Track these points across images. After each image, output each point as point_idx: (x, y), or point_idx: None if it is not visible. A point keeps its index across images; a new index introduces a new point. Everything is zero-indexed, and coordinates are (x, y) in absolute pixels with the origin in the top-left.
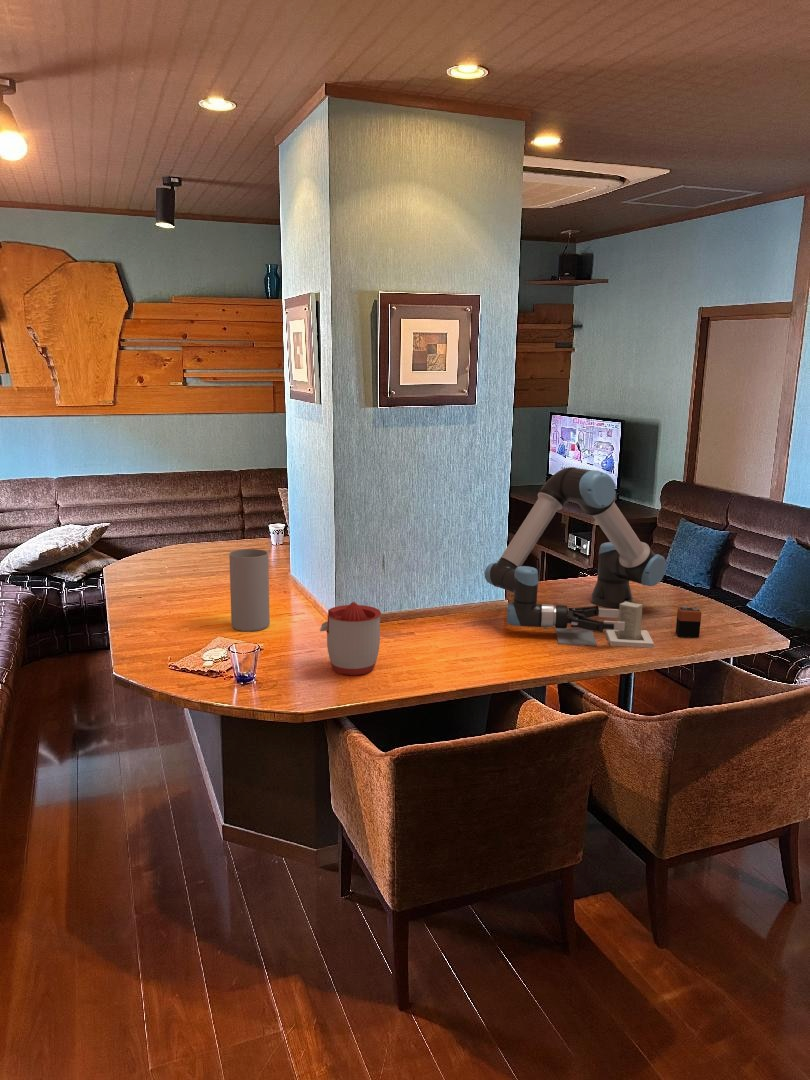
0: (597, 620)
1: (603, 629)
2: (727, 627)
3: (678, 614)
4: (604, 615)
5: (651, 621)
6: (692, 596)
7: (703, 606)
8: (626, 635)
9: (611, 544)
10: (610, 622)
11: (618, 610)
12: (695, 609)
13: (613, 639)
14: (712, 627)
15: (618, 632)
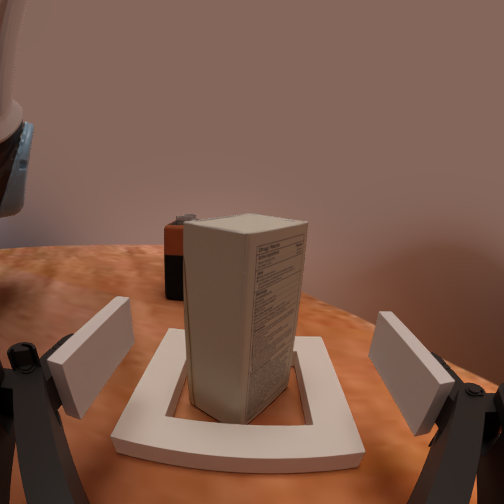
0: (452, 420)
1: (428, 430)
2: (145, 257)
3: (180, 242)
4: (95, 382)
5: (60, 305)
6: (2, 250)
7: (41, 252)
8: (268, 385)
9: None
10: (429, 357)
11: (128, 301)
12: (195, 219)
13: (326, 441)
14: (140, 264)
15: (240, 404)
